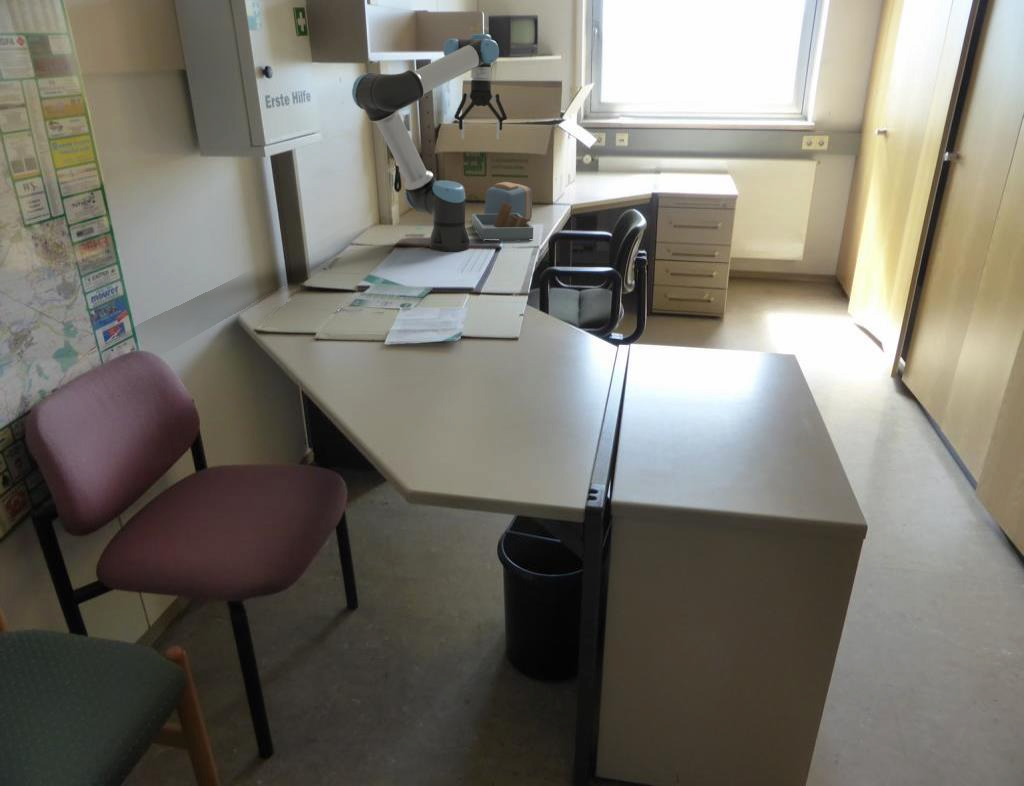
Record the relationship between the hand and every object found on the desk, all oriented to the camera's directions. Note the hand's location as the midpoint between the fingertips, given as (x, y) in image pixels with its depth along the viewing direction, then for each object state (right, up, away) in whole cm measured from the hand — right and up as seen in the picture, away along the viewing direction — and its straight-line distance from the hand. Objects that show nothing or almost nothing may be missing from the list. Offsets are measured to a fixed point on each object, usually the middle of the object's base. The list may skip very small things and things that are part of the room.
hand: (480, 139), depth 284 cm
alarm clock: (+10, -22, +40) cm, 47 cm away
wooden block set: (+10, -32, +15) cm, 37 cm away
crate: (+8, -33, +15) cm, 37 cm away
